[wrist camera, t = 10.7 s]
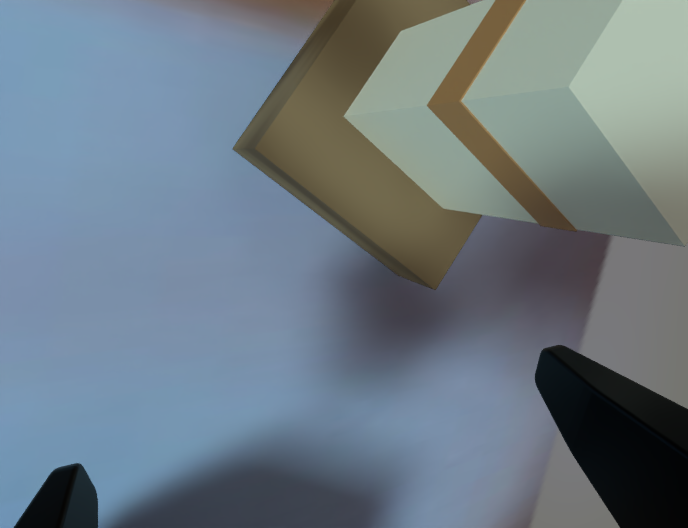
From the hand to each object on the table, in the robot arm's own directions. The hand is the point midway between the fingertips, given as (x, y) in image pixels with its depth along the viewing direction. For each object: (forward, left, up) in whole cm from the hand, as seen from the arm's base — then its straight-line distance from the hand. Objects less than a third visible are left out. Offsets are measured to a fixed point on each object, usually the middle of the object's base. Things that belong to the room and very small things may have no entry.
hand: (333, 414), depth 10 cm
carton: (+10, -3, -9) cm, 14 cm away
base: (+10, -3, -12) cm, 16 cm away
